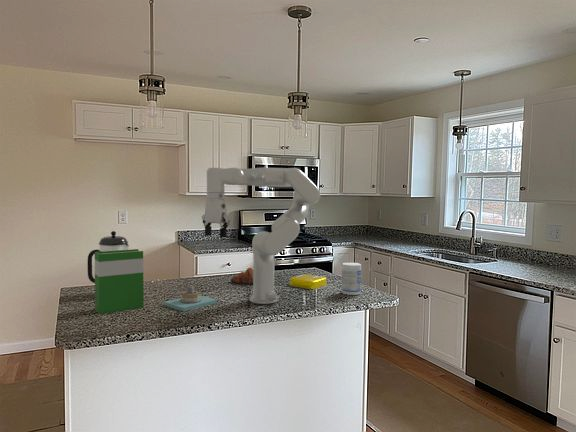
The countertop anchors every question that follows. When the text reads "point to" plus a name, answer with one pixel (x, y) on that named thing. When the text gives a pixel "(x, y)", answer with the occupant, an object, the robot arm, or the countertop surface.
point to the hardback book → (118, 280)
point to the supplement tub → (351, 278)
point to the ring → (190, 296)
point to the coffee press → (107, 249)
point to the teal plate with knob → (185, 305)
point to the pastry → (244, 277)
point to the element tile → (308, 281)
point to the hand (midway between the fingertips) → (215, 236)
